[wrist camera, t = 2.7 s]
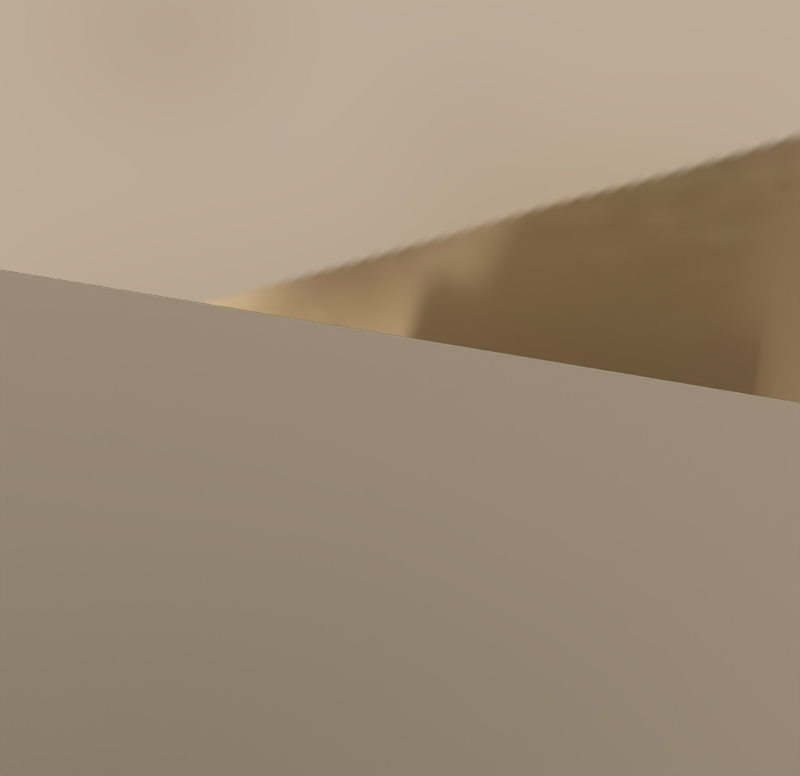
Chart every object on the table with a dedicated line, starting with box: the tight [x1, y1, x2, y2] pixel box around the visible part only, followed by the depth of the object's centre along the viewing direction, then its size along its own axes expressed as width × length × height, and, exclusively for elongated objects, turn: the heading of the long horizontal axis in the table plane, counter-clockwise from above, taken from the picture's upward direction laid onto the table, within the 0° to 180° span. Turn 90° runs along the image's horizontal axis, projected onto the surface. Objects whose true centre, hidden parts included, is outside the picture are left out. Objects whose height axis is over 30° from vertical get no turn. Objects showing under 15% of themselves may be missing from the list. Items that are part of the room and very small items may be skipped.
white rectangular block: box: [0, 270, 800, 776], centre depth 9 cm, size 2×6×13 cm, turn 75°
